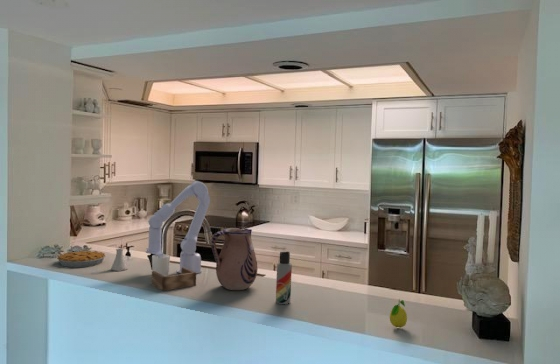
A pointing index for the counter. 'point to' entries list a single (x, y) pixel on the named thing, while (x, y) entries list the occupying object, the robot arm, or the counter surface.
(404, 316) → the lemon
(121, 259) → the flask
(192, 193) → the robot arm
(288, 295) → the lotion bottle
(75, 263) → the pie
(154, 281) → the wooden box
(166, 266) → the white cup
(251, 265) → the ceramic pitcher
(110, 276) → the counter surface
